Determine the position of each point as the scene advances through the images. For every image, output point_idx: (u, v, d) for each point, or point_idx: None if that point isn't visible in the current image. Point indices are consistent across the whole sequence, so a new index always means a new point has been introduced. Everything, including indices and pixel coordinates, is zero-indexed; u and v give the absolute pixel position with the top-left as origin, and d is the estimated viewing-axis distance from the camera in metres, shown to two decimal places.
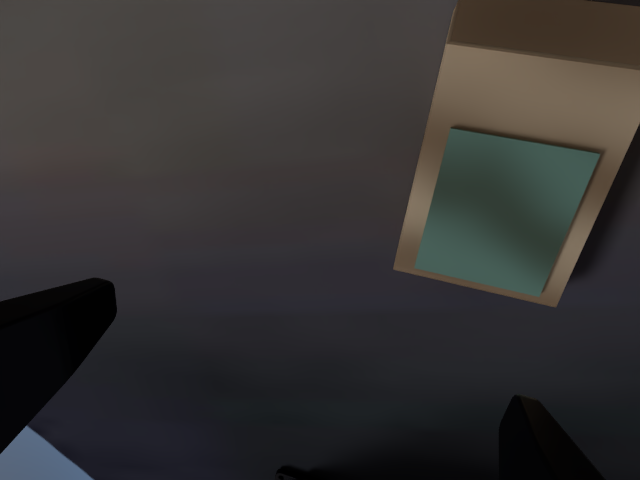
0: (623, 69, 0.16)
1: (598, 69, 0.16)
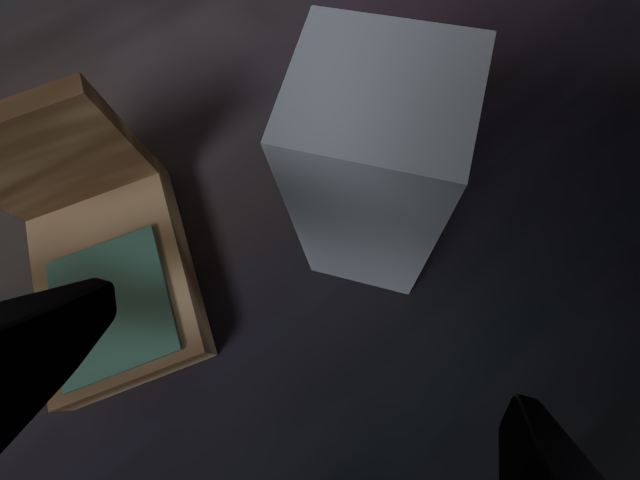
0: (136, 181, 0.24)
1: (123, 188, 0.24)
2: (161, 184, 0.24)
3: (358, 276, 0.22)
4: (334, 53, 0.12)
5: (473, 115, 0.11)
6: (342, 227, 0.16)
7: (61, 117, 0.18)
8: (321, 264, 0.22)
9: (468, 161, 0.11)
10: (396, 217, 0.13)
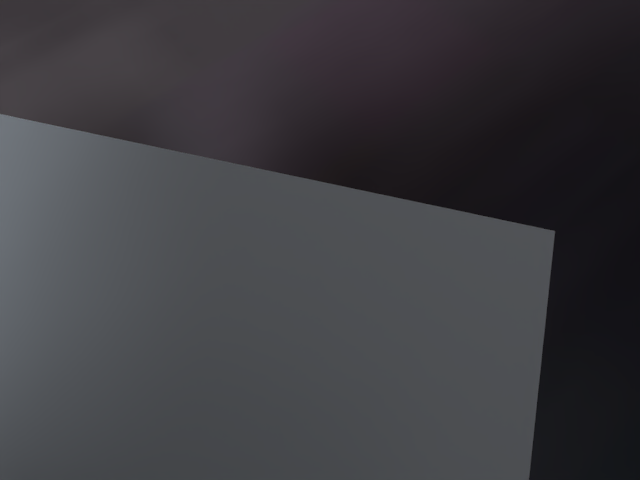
0: None
1: None
2: None
3: None
4: (10, 293, 0.04)
5: None
6: None
7: None
8: None
9: None
10: None
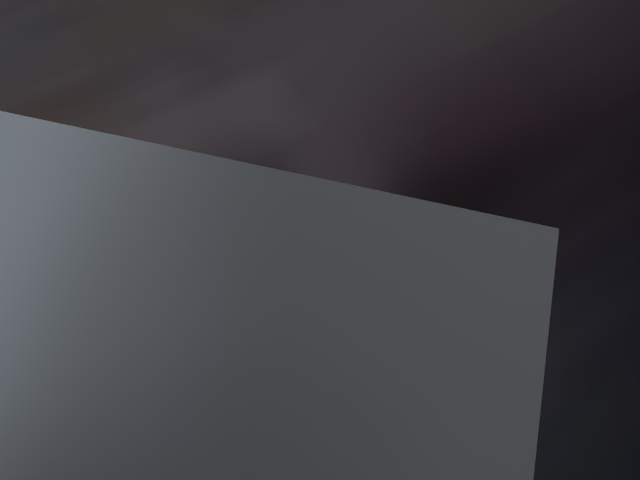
0: None
1: None
2: None
3: None
4: (15, 290, 0.04)
5: None
6: None
7: None
8: None
9: None
10: None
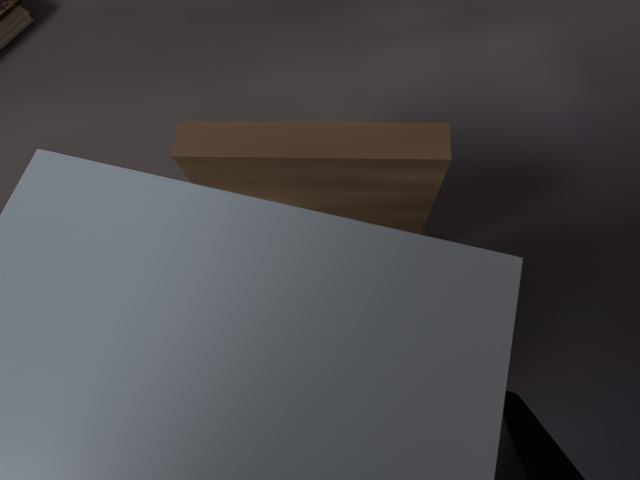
0: None
1: None
2: None
3: None
4: (57, 310, 0.04)
5: None
6: None
7: (392, 173, 0.12)
8: None
9: None
10: None
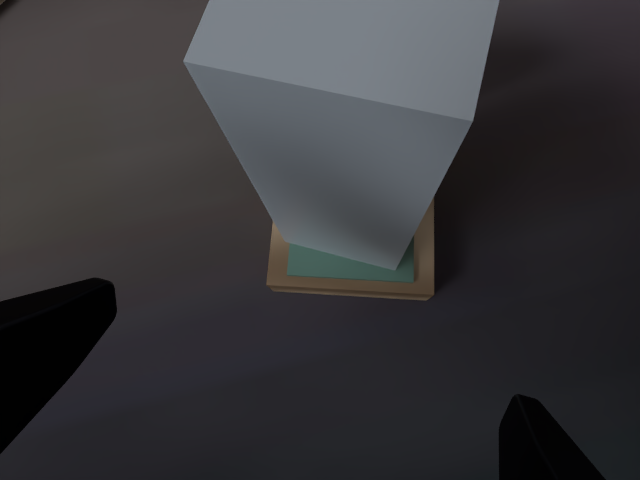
0: None
1: None
2: None
3: (337, 249, 0.19)
4: None
5: (484, 24, 0.08)
6: (311, 188, 0.13)
7: None
8: (294, 235, 0.19)
9: (475, 88, 0.07)
10: (376, 174, 0.10)
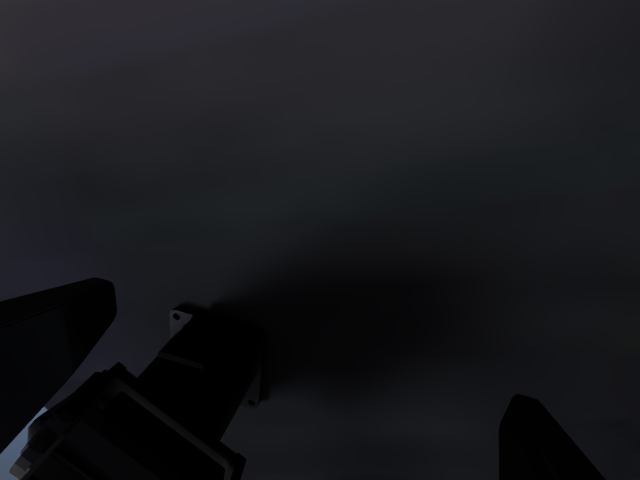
0: None
1: None
2: None
3: None
4: None
5: None
6: None
7: None
8: None
9: None
10: None
